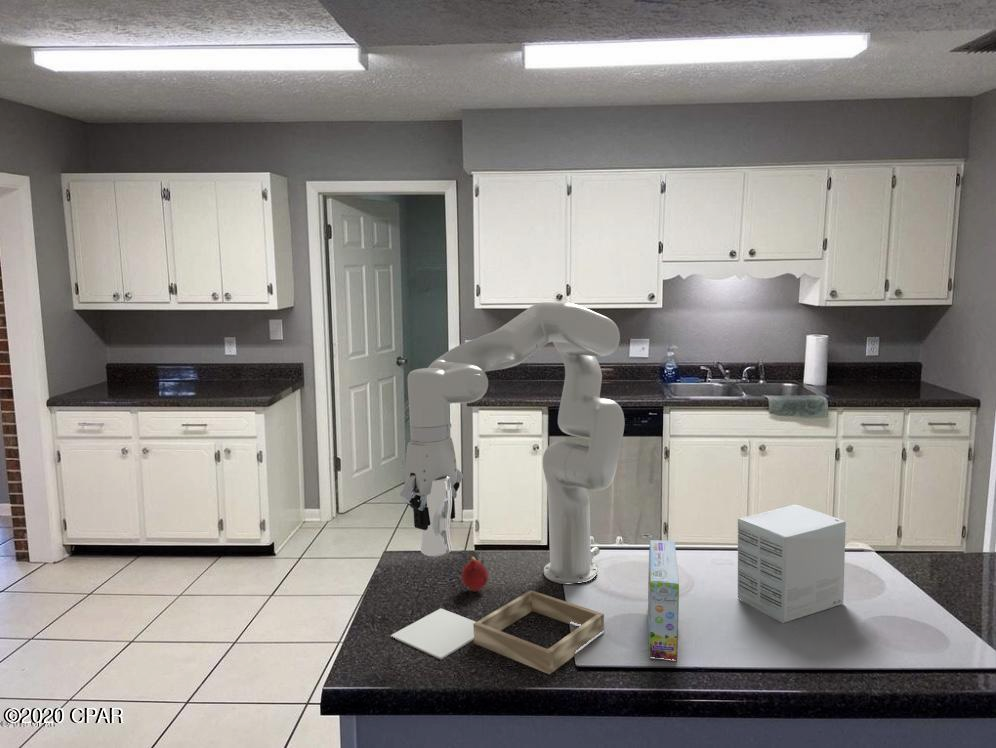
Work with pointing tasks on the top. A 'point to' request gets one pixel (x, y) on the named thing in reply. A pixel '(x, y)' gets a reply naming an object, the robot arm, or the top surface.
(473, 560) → the onion
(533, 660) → the wooden frame
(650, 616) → the snack box
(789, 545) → the supplement box
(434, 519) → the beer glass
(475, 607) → the top surface
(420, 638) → the mat
